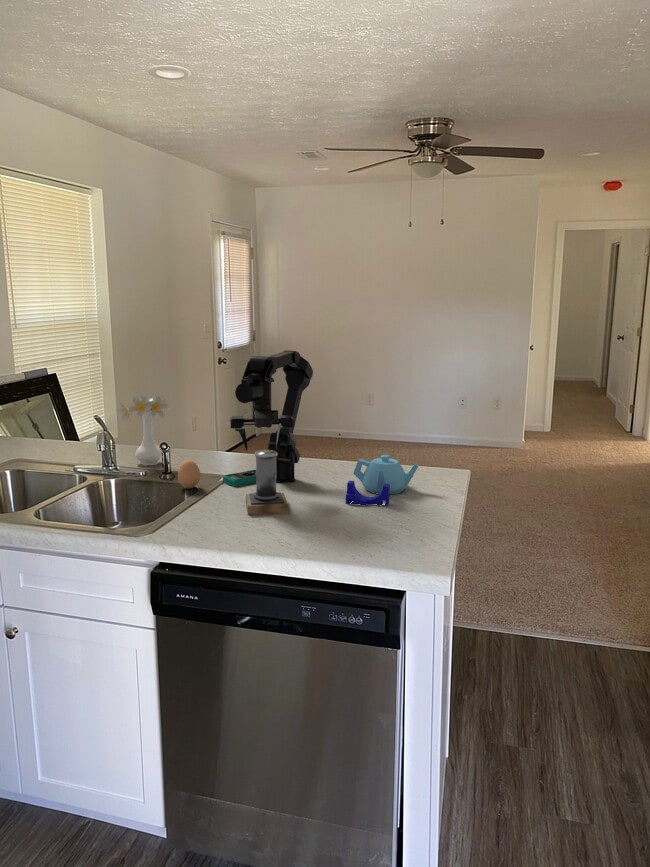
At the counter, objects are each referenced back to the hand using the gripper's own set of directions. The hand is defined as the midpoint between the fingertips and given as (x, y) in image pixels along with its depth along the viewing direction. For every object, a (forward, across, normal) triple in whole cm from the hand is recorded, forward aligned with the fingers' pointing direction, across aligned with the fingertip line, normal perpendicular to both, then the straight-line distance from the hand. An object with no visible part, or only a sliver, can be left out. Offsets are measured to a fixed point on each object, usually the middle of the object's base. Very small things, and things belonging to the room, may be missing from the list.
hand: (262, 449), depth 201 cm
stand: (+13, 0, -16) cm, 21 cm away
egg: (+13, -22, +6) cm, 26 cm away
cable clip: (+13, +29, -16) cm, 36 cm away
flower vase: (+13, -37, +37) cm, 54 cm away
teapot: (+13, +38, -2) cm, 40 cm away
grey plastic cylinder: (+10, 0, -16) cm, 19 cm away
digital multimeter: (+14, -4, +12) cm, 19 cm away
